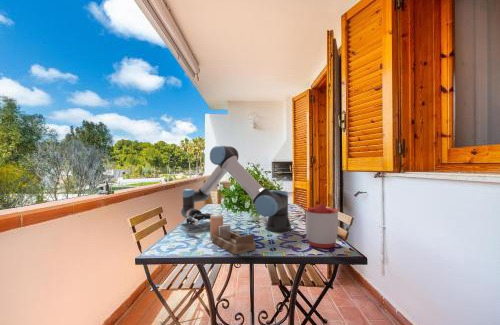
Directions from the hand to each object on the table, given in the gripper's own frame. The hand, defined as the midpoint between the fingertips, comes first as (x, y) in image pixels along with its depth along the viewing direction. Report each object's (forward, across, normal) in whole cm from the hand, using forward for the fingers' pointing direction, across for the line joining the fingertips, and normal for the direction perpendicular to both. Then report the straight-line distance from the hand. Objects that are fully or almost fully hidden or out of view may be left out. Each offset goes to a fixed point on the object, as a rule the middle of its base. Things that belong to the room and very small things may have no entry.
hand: (208, 221), depth 145 cm
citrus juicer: (+50, -35, -7) cm, 62 cm away
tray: (+27, 0, -7) cm, 28 cm away
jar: (+10, 0, -7) cm, 12 cm away
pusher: (+19, 0, -6) cm, 19 cm away
